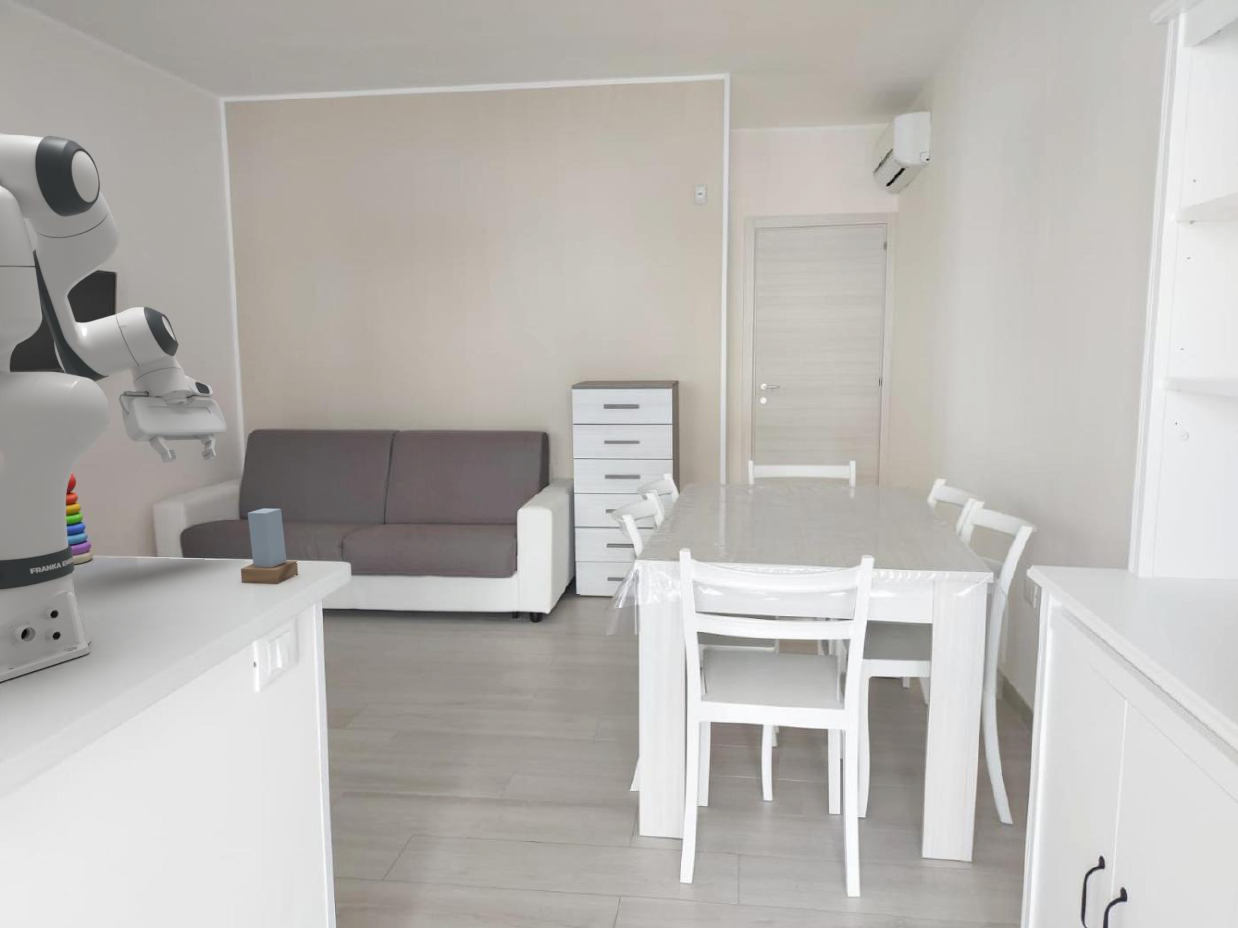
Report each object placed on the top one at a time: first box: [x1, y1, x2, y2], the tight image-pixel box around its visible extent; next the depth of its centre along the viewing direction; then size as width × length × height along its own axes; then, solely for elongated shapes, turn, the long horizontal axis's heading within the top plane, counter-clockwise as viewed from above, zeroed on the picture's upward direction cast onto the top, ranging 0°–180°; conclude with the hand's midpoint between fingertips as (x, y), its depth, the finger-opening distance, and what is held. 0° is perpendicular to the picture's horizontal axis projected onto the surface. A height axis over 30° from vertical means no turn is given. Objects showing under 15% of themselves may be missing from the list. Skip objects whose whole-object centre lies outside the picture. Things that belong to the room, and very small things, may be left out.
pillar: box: [247, 507, 288, 568], centre depth 162 cm, size 4×4×10 cm
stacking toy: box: [66, 473, 94, 565], centre depth 176 cm, size 8×8×19 cm
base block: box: [240, 560, 299, 585], centre depth 163 cm, size 7×7×3 cm
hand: (191, 460), depth 164 cm, fingers open, 8 cm apart
